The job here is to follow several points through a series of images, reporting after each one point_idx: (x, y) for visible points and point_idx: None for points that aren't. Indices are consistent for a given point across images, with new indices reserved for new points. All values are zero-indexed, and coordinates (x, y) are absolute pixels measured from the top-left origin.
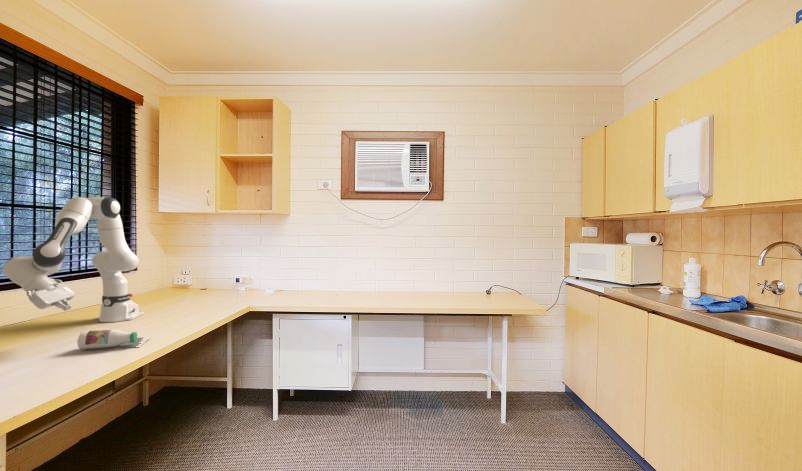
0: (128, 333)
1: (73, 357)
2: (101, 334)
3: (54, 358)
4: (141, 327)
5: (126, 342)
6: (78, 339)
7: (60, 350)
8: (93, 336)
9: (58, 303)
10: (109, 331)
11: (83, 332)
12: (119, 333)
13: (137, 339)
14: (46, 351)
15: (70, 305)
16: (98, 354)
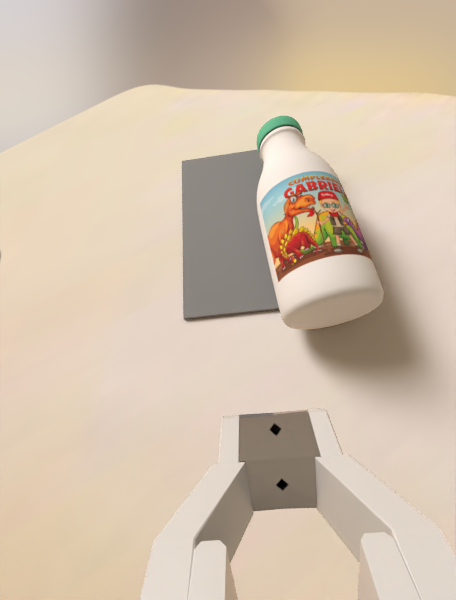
0: (290, 134)
1: (429, 297)
2: (345, 200)
3: (453, 372)
4: (6, 270)
5: (243, 206)
6: (382, 295)
7: (333, 427)
8: (359, 231)
9: (451, 576)
10: (320, 173)
11: (355, 277)
12: (310, 151)
13: (207, 190)
14: None
15: (224, 434)
16: (383, 228)
